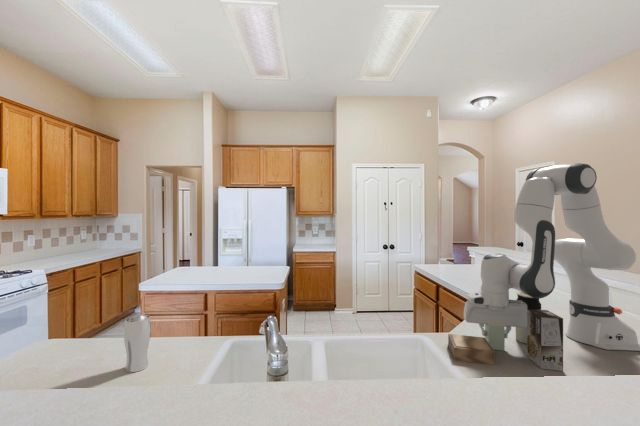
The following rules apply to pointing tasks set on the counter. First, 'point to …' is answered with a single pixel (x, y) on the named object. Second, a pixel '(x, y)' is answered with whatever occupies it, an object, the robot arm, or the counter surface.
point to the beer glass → (137, 342)
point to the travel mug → (531, 304)
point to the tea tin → (495, 335)
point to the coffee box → (545, 339)
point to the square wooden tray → (471, 349)
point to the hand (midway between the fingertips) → (494, 336)
